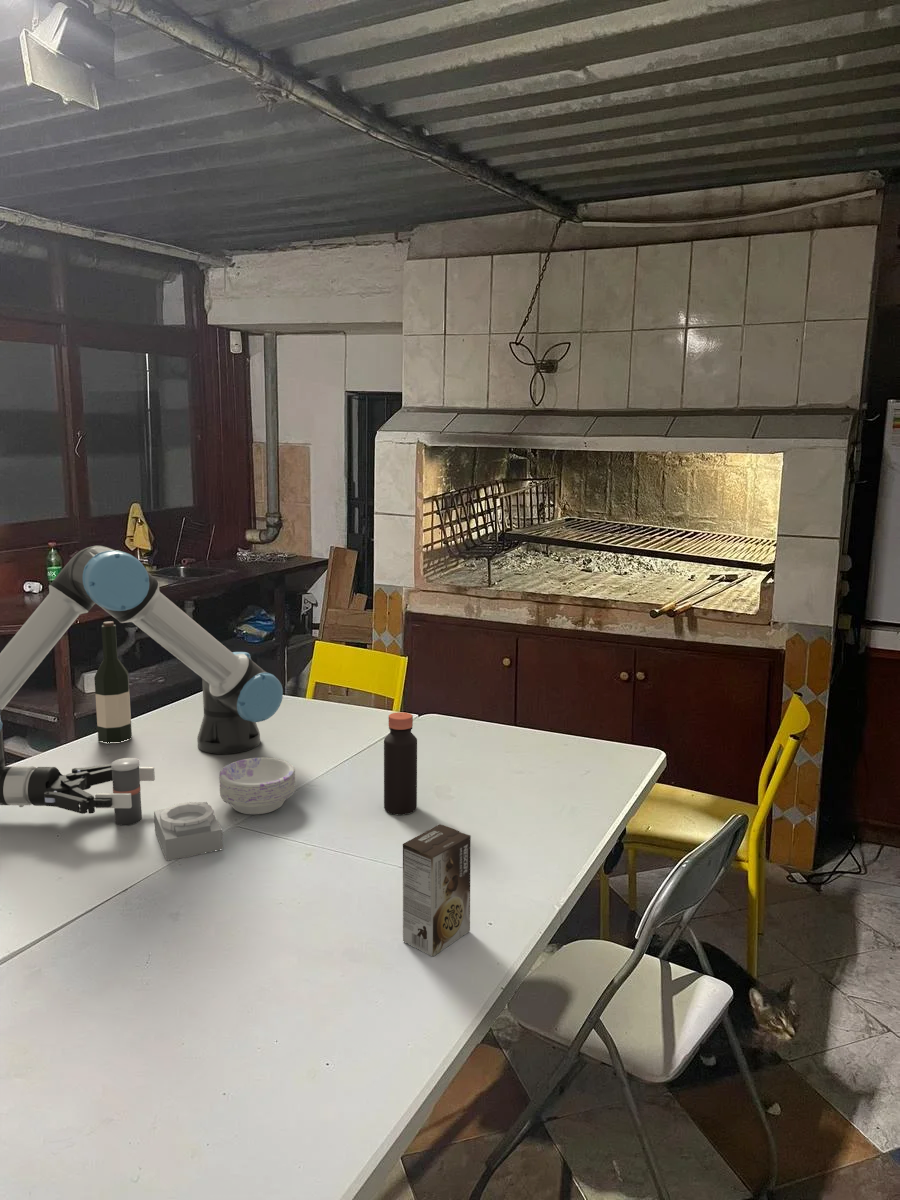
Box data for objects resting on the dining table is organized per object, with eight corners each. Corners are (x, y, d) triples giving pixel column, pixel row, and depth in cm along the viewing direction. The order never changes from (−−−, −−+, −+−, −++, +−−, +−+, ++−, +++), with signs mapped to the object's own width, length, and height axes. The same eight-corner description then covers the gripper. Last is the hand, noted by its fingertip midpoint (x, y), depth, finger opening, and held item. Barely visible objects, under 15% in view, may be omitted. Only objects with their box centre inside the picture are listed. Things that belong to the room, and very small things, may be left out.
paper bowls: (278, 824, 172) (277, 786, 171) (207, 817, 175) (205, 779, 174) (306, 795, 187) (305, 759, 185) (240, 788, 190) (238, 753, 188)
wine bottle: (138, 734, 224) (132, 619, 219) (123, 744, 216) (116, 626, 211) (107, 732, 225) (100, 618, 219) (91, 743, 217) (83, 625, 211)
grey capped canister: (140, 812, 177) (137, 756, 175) (144, 822, 172) (140, 764, 170) (113, 817, 174) (109, 760, 172) (116, 827, 170) (112, 769, 168)
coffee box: (439, 917, 139) (440, 822, 136) (471, 932, 135) (473, 834, 132) (400, 942, 132) (400, 842, 129) (433, 958, 128) (433, 855, 125)
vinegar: (377, 811, 179) (377, 717, 175) (394, 799, 185) (395, 708, 181) (406, 818, 176) (406, 722, 172) (422, 806, 182) (423, 713, 178)
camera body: (207, 820, 173) (206, 794, 172) (222, 849, 161) (221, 821, 160) (154, 830, 169) (153, 803, 168) (166, 860, 157) (165, 832, 156)
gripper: (62, 780, 185) (163, 780, 185) (5, 831, 160) (121, 832, 160) (60, 746, 183) (161, 747, 184) (1, 793, 159) (118, 793, 159)
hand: (143, 786), depth 172 cm, fingers open, 13 cm apart
